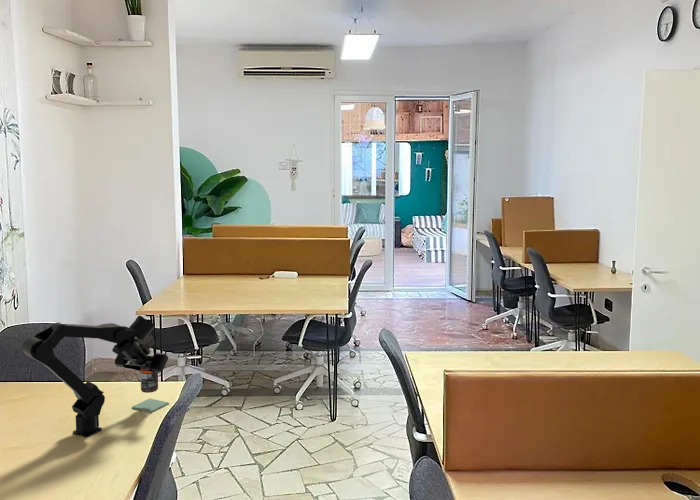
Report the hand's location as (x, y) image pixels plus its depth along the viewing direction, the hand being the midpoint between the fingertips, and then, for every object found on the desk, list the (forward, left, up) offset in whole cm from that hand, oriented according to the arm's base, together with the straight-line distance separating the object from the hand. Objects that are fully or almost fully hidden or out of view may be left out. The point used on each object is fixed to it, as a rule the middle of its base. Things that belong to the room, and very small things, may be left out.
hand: (151, 371), depth 229 cm
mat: (-1, 0, -13) cm, 13 cm away
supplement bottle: (-1, 0, -7) cm, 7 cm away
